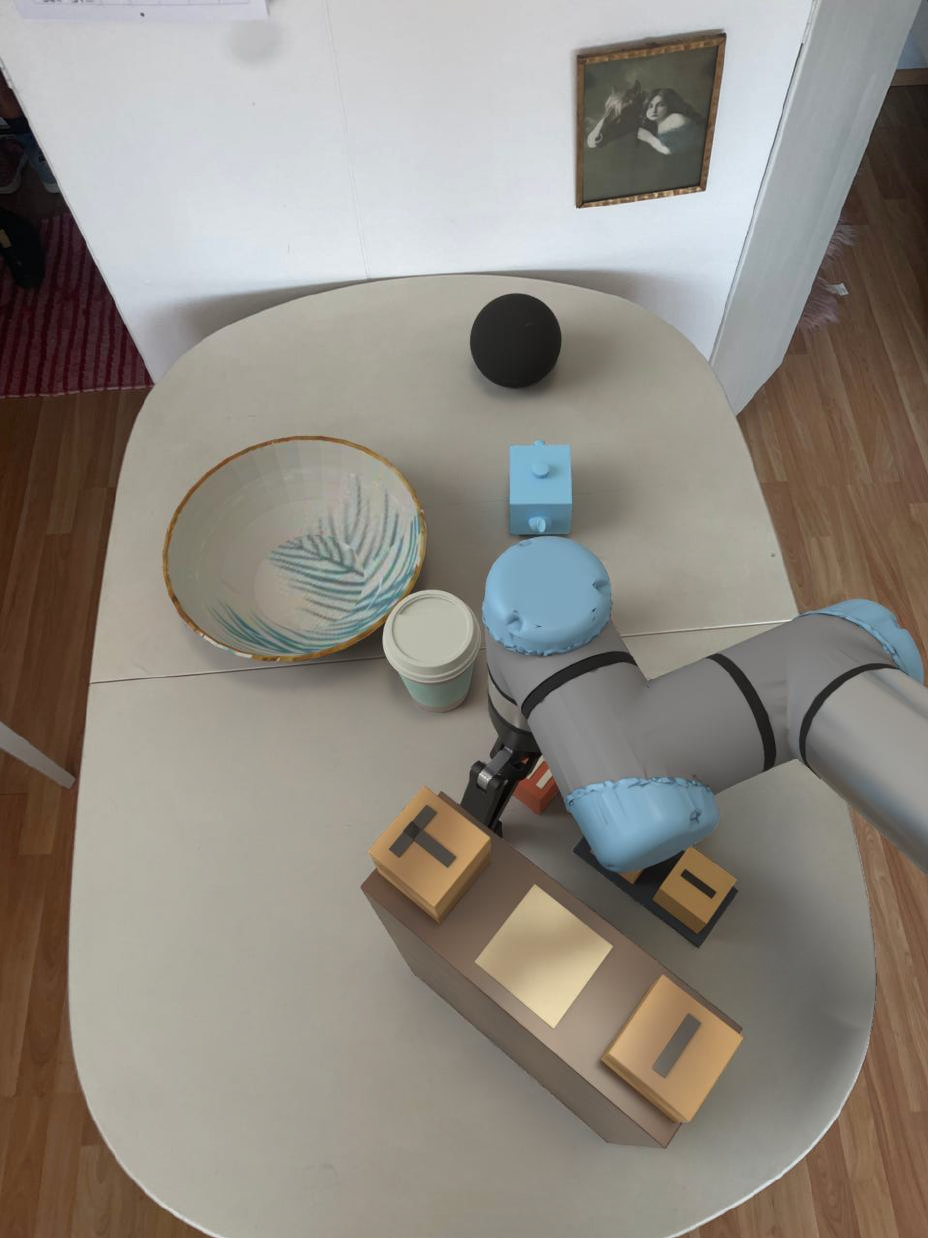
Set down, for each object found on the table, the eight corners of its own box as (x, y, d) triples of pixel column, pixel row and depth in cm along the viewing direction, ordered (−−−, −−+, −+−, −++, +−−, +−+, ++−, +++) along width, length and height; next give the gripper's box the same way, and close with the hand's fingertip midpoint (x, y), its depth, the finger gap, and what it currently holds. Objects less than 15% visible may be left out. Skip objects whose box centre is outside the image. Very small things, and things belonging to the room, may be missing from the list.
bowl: (401, 457, 107) (393, 409, 100) (460, 658, 95) (456, 620, 88) (172, 513, 105) (147, 468, 98) (204, 725, 93) (179, 692, 86)
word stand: (659, 1066, 78) (764, 1018, 46) (607, 1143, 76) (679, 1151, 43) (464, 905, 85) (435, 763, 52) (411, 971, 82) (347, 866, 50)
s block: (569, 777, 89) (572, 760, 85) (539, 815, 88) (540, 800, 84) (529, 748, 91) (530, 730, 87) (499, 785, 89) (499, 768, 85)
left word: (737, 891, 84) (750, 877, 80) (698, 948, 82) (709, 937, 78) (612, 799, 88) (618, 781, 84) (572, 851, 86) (576, 835, 82)
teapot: (569, 567, 100) (573, 526, 93) (509, 567, 100) (509, 527, 93) (566, 470, 105) (570, 425, 99) (509, 470, 106) (509, 426, 99)
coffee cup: (498, 663, 95) (496, 604, 84) (460, 740, 92) (454, 688, 81) (418, 632, 97) (407, 570, 86) (379, 705, 94) (362, 650, 83)
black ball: (453, 370, 112) (448, 305, 103) (519, 326, 115) (519, 258, 106) (511, 421, 109) (511, 358, 100) (578, 375, 111) (583, 309, 102)
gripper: (597, 542, 76) (579, 660, 95) (387, 784, 67) (413, 860, 86) (680, 595, 73) (644, 705, 92) (472, 853, 65) (480, 915, 84)
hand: (532, 780), depth 89 cm, fingers open, 12 cm apart
